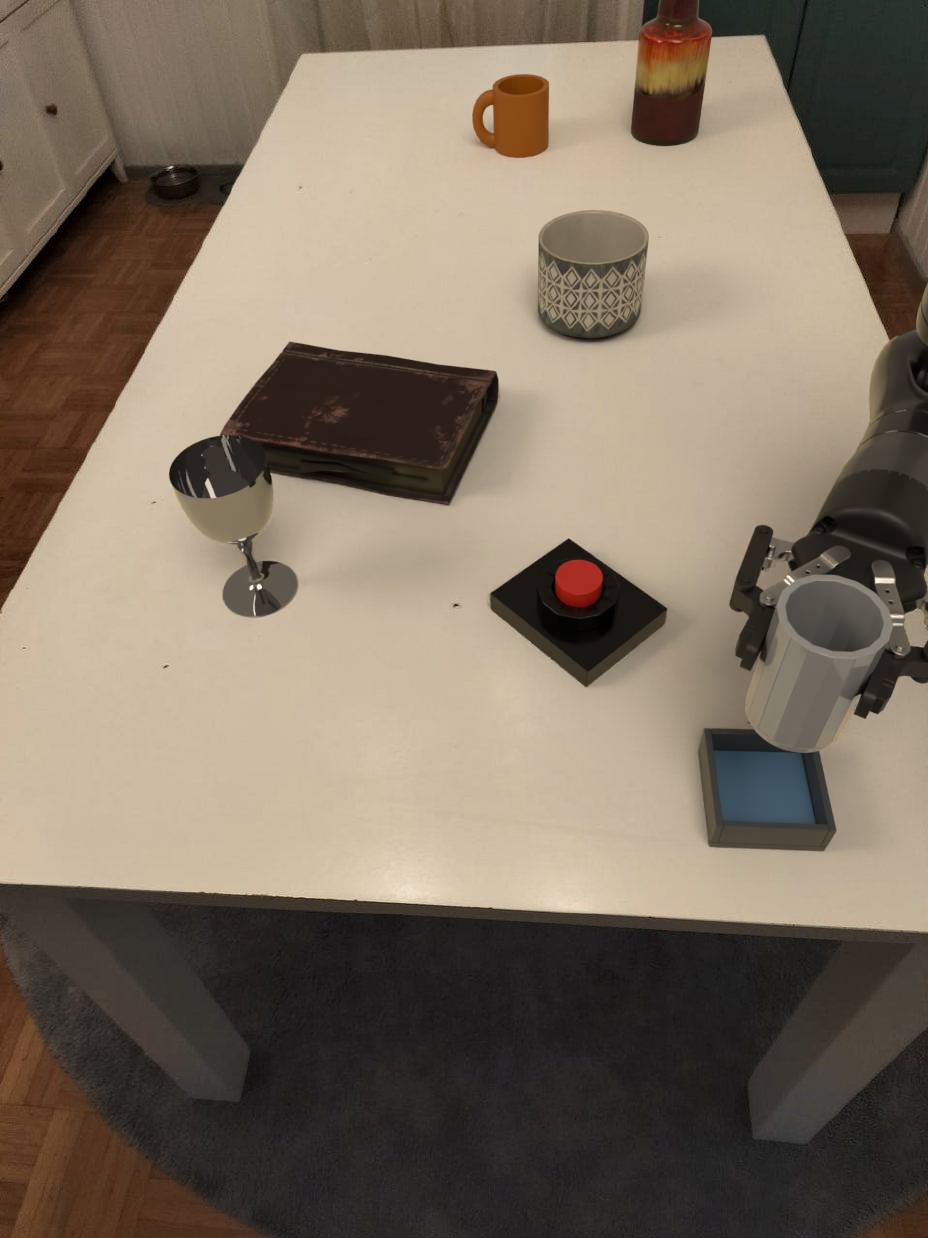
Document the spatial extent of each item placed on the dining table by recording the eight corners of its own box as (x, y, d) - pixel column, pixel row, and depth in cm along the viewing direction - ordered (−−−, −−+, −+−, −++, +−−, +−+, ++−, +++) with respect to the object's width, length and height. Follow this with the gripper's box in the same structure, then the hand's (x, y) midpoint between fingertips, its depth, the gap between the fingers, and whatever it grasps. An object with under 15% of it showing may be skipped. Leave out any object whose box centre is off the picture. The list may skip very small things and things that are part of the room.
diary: (299, 372, 106) (291, 334, 102) (499, 402, 100) (498, 363, 96) (226, 471, 95) (214, 434, 91) (446, 512, 89) (443, 473, 85)
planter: (629, 351, 105) (638, 268, 97) (526, 338, 108) (526, 257, 100) (647, 295, 112) (657, 214, 104) (550, 285, 115) (552, 205, 107)
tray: (804, 753, 69) (814, 730, 66) (824, 851, 64) (836, 831, 61) (697, 750, 70) (703, 727, 67) (708, 847, 64) (716, 826, 62)
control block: (665, 624, 78) (670, 594, 75) (586, 687, 74) (588, 658, 71) (567, 554, 84) (569, 523, 81) (490, 609, 80) (488, 579, 77)
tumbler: (834, 675, 59) (879, 575, 52) (851, 755, 55) (903, 660, 48) (739, 672, 60) (770, 572, 52) (750, 751, 56) (785, 656, 48)
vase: (683, 150, 139) (703, -3, 123) (620, 139, 142) (631, -11, 127) (708, 124, 144) (730, -25, 129) (646, 114, 148) (660, -32, 133)
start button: (611, 590, 76) (612, 576, 75) (578, 615, 74) (579, 601, 73) (577, 566, 78) (578, 552, 77) (545, 589, 77) (545, 576, 75)
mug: (480, 132, 147) (478, 72, 140) (552, 134, 145) (553, 73, 138) (469, 156, 142) (466, 94, 135) (543, 158, 139) (544, 96, 133)
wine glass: (246, 634, 80) (199, 513, 68) (202, 587, 84) (150, 465, 72) (318, 589, 83) (284, 465, 71) (272, 545, 87) (233, 422, 75)
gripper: (793, 436, 60) (697, 598, 52) (1020, 506, 55) (957, 699, 46) (770, 516, 66) (680, 673, 57) (974, 586, 61) (909, 771, 52)
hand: (804, 684), depth 52 cm, fingers closed on tumbler, 6 cm apart
